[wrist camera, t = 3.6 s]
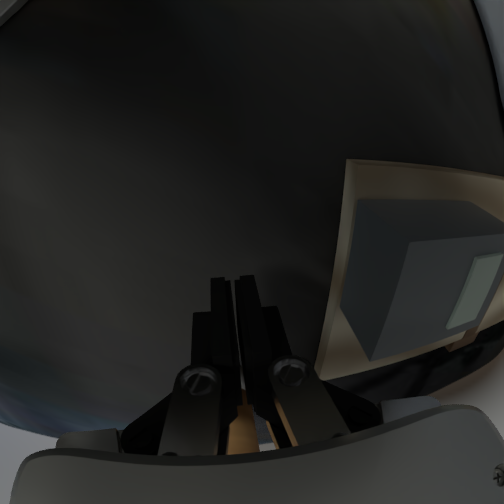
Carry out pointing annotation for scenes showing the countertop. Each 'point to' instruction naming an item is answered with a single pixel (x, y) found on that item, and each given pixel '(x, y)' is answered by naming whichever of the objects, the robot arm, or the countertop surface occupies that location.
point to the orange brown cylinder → (243, 427)
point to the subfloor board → (355, 188)
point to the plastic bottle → (494, 35)
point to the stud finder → (419, 272)
